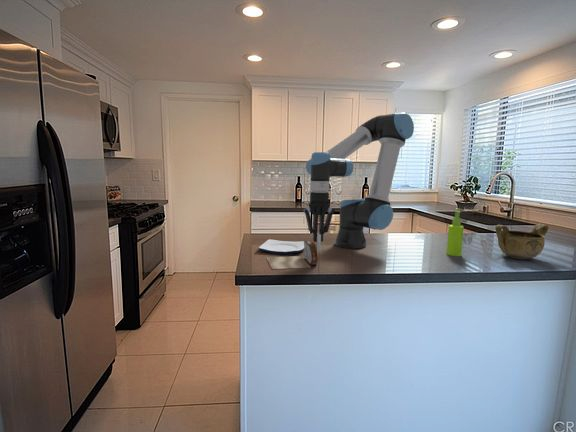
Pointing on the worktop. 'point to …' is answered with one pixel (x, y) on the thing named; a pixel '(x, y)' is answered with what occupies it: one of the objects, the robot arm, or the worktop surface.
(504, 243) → the ceramic bowl
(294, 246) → the plate
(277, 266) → the cork mat
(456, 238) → the green bottle
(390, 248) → the worktop surface
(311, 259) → the bread slice
